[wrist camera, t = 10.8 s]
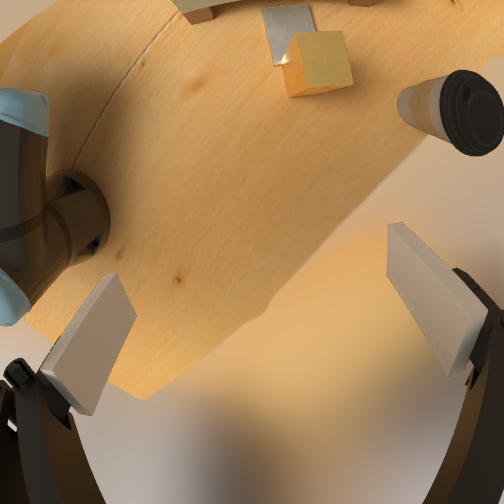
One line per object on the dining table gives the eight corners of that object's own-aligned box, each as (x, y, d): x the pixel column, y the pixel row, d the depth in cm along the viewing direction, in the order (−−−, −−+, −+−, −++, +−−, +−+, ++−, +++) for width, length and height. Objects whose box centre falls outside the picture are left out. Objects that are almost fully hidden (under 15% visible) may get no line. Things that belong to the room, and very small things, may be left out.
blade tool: (280, 98, 33) (295, 89, 20) (260, 10, 27) (262, -38, 14) (326, 93, 32) (364, 84, 20) (306, 6, 26) (330, -40, 14)
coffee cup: (388, 68, 30) (452, 55, 16) (442, 86, 30) (511, 88, 16) (383, 132, 34) (445, 148, 21) (436, 145, 34) (504, 169, 21)
